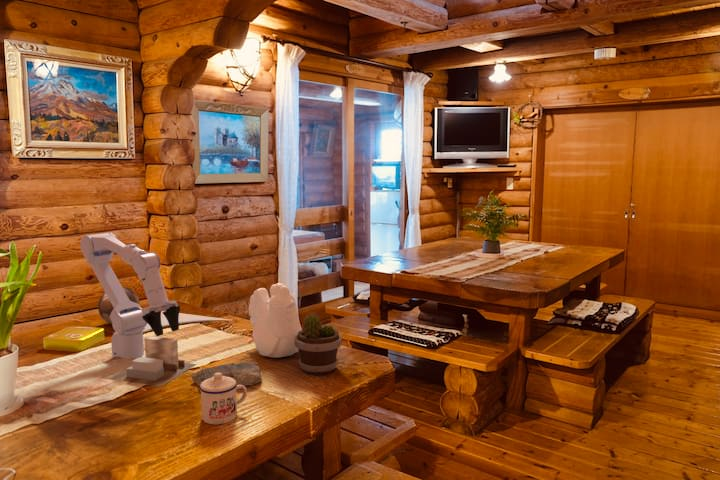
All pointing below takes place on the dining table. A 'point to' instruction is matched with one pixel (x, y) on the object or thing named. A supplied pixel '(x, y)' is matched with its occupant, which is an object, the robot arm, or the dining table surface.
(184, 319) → the corner molding
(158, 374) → the block
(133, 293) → the wooden sphere
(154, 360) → the upper offcut
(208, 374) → the clay tablet
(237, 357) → the dining table surface
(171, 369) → the walnut rack
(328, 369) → the flowerpot
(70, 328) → the element tile
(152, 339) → the brown rectangular block
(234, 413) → the teacup with lid
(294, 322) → the white sculpture
